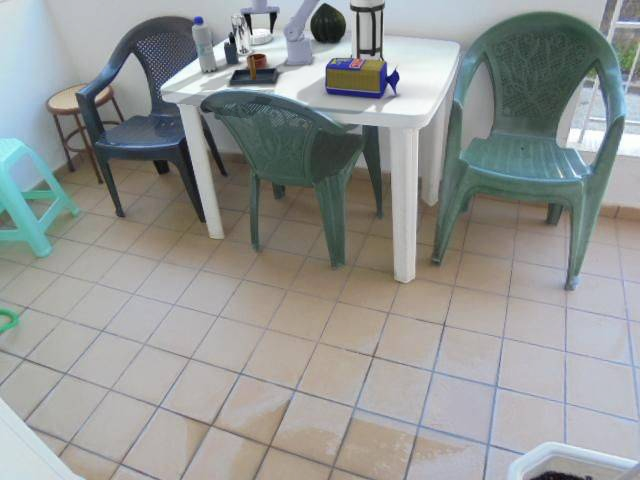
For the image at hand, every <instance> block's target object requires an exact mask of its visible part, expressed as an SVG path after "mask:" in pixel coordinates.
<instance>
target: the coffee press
mask: <svg viewBox="0 0 640 480" xmlns="http://www.w3.org/2000/svg"><path fill="white" fill-rule="evenodd" d="M385 8H386V0H350V1H349V9H350V29H351V30H350V36H351V37H350V38H351V41H350V42H351V54H350V58H354V59H369V60H382V61H386V60H385V59H384V49H385V48H384V46H385V45H384V43H385Z"/></svg>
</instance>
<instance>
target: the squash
mask: <svg viewBox="0 0 640 480" xmlns="http://www.w3.org/2000/svg"><path fill="white" fill-rule="evenodd" d="M309 28H310V29H309V30H310V33H311V35H312V36H313V38H314V40H315V41H316V42H318V43H326V42H328V41H330V42H333V43H338V42H339V41H340V40H341V39H342V38H343V37H344V36H345V34H346V31H347V21H346V18H345V16H344V15H343V13H342V12H341V11H340V10H338V9H336V8H335V7H333V6H332V5H330V4H328V3H326V2H323V3H322V4H320V6H319V7H318V8H317V9H316V10H315V12H314V13H313V15H312V16H311V18H310V23H309Z"/></svg>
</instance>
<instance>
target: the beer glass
mask: <svg viewBox="0 0 640 480" xmlns="http://www.w3.org/2000/svg"><path fill="white" fill-rule="evenodd" d="M230 19H231V26H232V27H231V28H232V33H233V34H235V40H236V45H237V53H238V55H240V56H241V55H245V56H246V55H251V54H252V53H253V48H252V45H251V44H250V29H249V26H248V24H247V22H246V20H245V18H244V16H241V13H240V12H234V13H231V15H230Z"/></svg>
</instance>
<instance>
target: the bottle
mask: <svg viewBox="0 0 640 480" xmlns="http://www.w3.org/2000/svg"><path fill="white" fill-rule="evenodd" d="M193 23H194V25H192V26H191V33H192V38H193V41H194V42H195V47H196V51H197V56H198V63H199V66H200V70H201V71H202V72H203V73H207V72H208V73H211V72H215V71H216V70H217V68H218V64H217V60H216V56H215V53H214V48H213V47H214V46H213V43H212V33H211V30H210V27H209V24H207V23H205V22H204V18H203V17H202V16H200V15H198V16H195V17H193Z"/></svg>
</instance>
